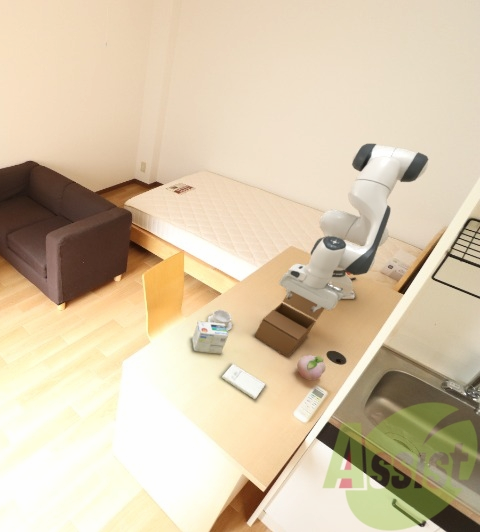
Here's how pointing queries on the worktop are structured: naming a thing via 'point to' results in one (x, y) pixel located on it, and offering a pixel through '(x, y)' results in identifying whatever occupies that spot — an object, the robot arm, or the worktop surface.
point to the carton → (284, 329)
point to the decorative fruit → (311, 367)
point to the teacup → (221, 318)
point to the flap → (303, 305)
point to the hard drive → (243, 381)
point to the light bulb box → (209, 337)
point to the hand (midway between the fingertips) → (300, 304)
